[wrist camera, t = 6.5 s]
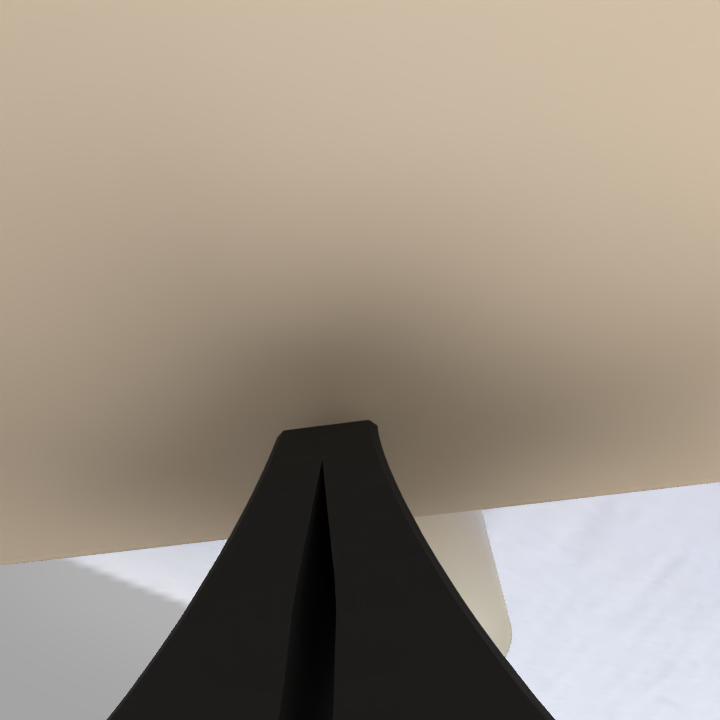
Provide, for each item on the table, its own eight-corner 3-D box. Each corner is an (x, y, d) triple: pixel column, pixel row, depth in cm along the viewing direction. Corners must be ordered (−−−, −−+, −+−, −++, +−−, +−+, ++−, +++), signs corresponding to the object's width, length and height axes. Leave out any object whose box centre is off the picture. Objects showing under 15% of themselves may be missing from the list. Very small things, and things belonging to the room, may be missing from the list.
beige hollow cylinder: (320, 557, 21) (317, 714, 17) (290, 439, 18) (278, 591, 14) (476, 539, 21) (512, 693, 17) (469, 417, 18) (512, 564, 14)
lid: (-18, 541, 12) (-36, 572, 11) (-620, -523, 6) (-737, -584, 5) (738, 452, 11) (761, 478, 11) (995, -826, 5) (1084, -935, 5)
